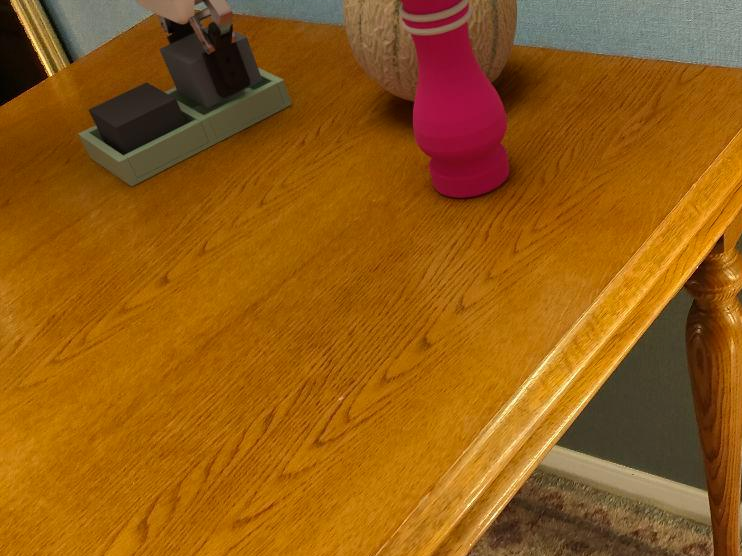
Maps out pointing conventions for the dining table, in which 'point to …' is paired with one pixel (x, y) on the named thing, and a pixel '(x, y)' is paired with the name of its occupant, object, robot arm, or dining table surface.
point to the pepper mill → (454, 101)
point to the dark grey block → (137, 118)
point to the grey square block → (202, 68)
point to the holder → (191, 130)
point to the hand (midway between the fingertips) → (217, 80)
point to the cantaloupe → (397, 49)
